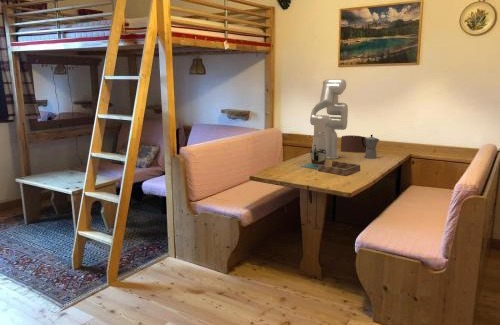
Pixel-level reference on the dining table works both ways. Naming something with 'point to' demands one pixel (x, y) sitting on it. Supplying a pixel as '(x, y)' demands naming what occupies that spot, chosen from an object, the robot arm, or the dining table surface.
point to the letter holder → (352, 144)
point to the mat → (311, 166)
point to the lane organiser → (346, 171)
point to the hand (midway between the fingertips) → (318, 159)
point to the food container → (319, 157)
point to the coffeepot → (370, 147)
